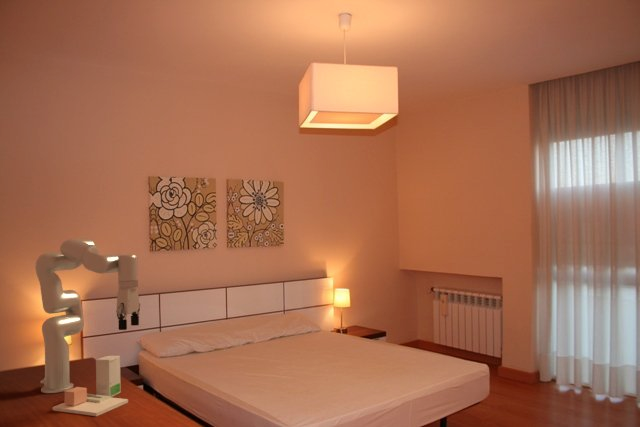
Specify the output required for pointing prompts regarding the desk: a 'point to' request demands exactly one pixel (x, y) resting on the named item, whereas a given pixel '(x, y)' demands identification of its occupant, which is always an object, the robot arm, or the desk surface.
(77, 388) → the stub
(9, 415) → the desk surface
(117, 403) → the ticket board
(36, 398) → the desk surface
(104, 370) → the skincare box
